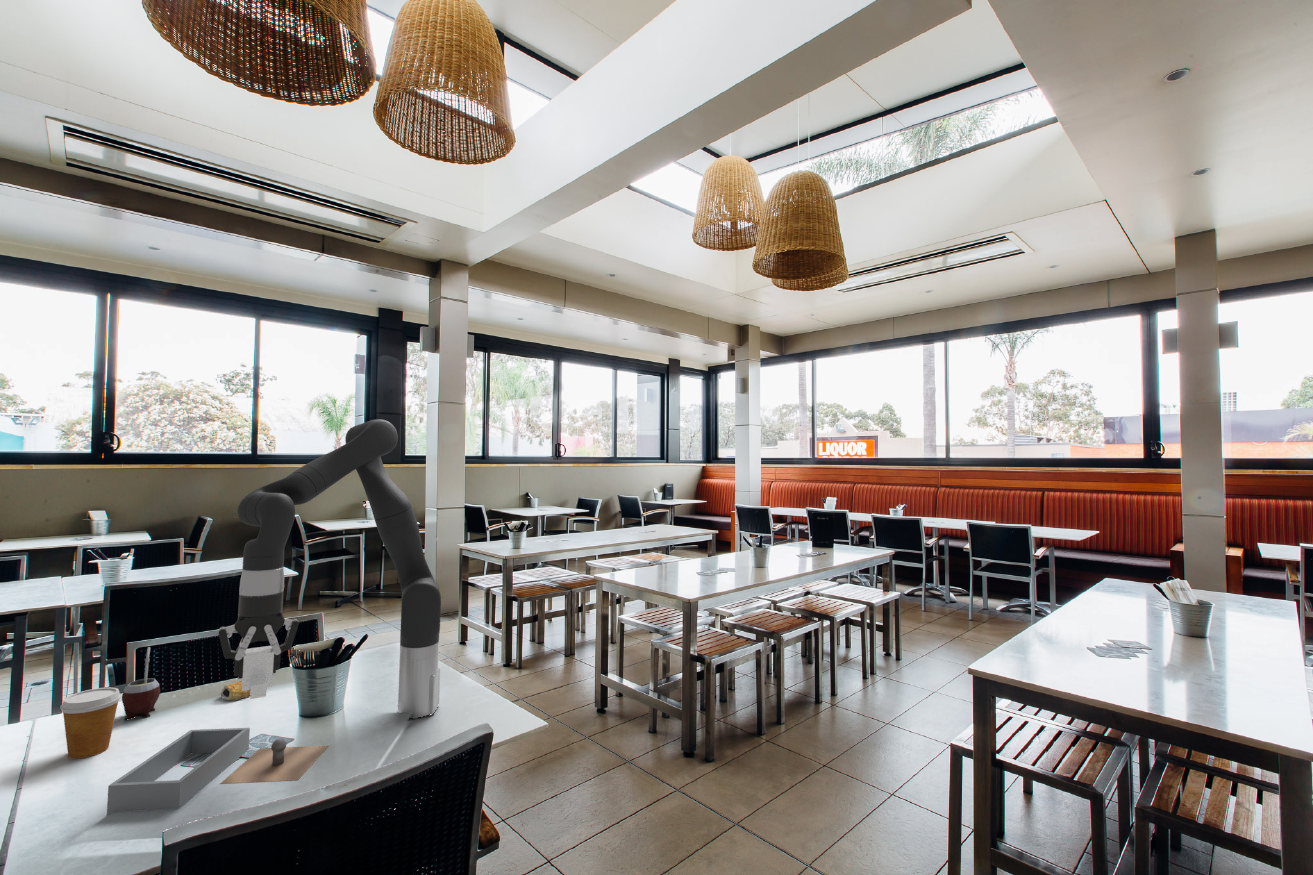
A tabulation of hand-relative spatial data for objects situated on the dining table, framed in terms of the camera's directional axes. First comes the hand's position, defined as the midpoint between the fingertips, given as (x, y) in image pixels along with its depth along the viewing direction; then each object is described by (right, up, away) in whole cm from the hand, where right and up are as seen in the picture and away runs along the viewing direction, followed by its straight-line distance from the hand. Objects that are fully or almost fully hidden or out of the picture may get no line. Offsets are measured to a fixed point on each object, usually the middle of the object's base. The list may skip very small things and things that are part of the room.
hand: (256, 674), depth 119 cm
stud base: (+4, -20, +1) cm, 20 cm away
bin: (-11, -19, -5) cm, 23 cm away
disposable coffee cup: (-41, -20, +7) cm, 46 cm away
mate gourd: (-47, -20, +26) cm, 57 cm away
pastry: (-31, -22, +39) cm, 54 cm away
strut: (0, -2, 0) cm, 2 cm away
